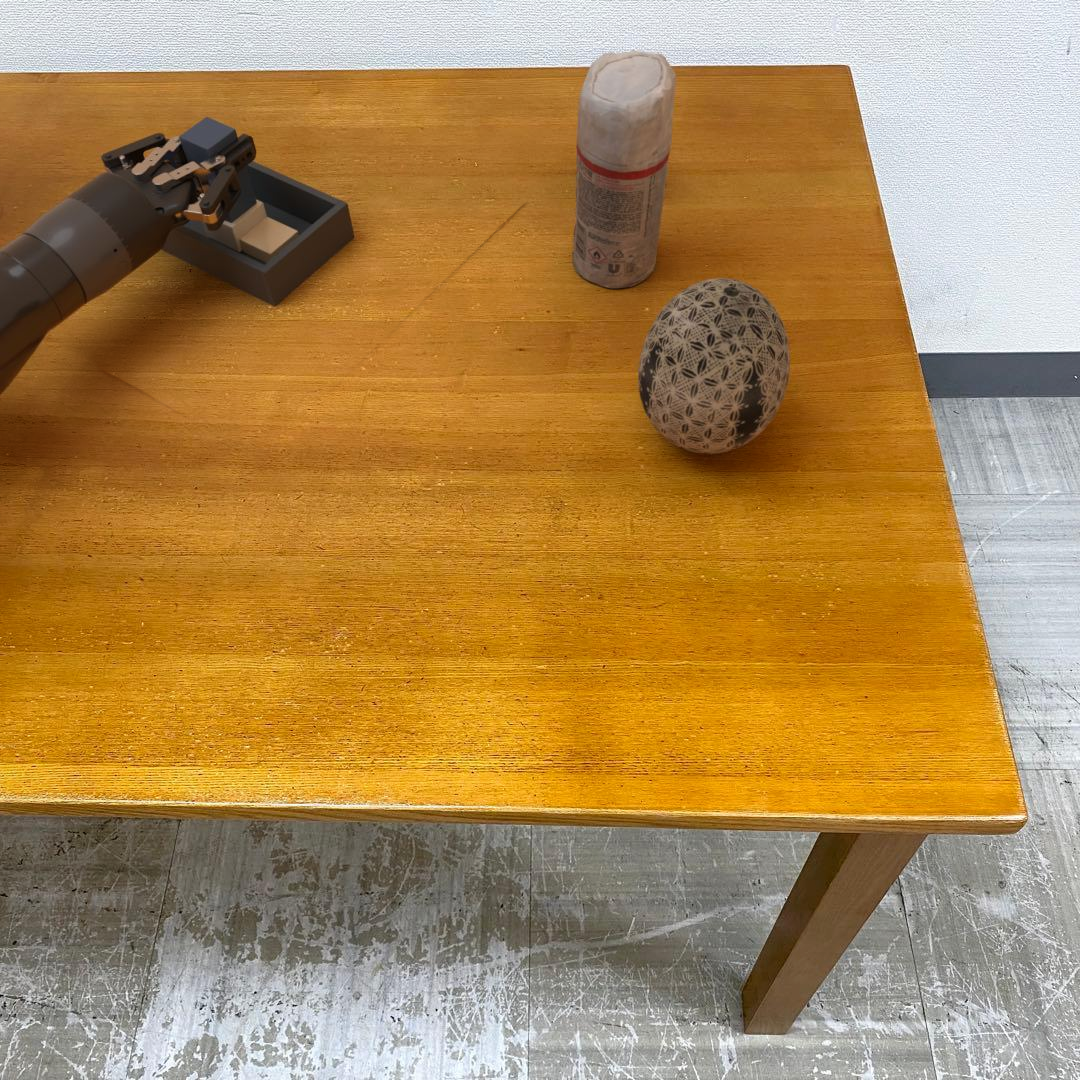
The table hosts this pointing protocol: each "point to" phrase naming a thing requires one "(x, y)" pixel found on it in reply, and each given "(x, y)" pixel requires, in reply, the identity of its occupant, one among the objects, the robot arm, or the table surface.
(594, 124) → the spray can
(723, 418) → the decorative egg
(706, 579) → the table surface
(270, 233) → the beige square block
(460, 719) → the table surface
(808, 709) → the table surface
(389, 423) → the table surface
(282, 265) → the bin
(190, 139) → the two-tone block stamp
